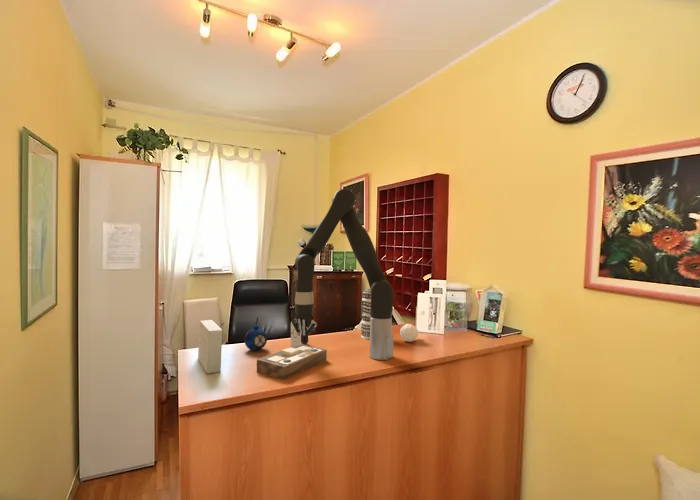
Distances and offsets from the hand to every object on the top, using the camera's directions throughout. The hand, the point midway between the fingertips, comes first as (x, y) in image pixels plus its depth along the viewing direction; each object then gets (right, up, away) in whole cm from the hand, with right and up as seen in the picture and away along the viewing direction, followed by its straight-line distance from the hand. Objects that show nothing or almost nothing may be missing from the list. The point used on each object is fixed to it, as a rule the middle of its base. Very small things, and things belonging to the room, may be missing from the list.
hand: (304, 343), depth 143 cm
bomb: (-23, -6, +12) cm, 27 cm away
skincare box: (-37, -7, -7) cm, 38 cm away
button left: (-9, -5, -13) cm, 17 cm away
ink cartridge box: (-6, -7, +21) cm, 22 cm away
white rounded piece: (+50, -7, +31) cm, 59 cm away
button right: (0, -5, 0) cm, 5 cm away
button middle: (-5, -4, -6) cm, 9 cm away
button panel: (-3, -7, -7) cm, 10 cm away
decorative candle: (+29, -7, +37) cm, 48 cm away
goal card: (0, -2, -10) cm, 10 cm away
